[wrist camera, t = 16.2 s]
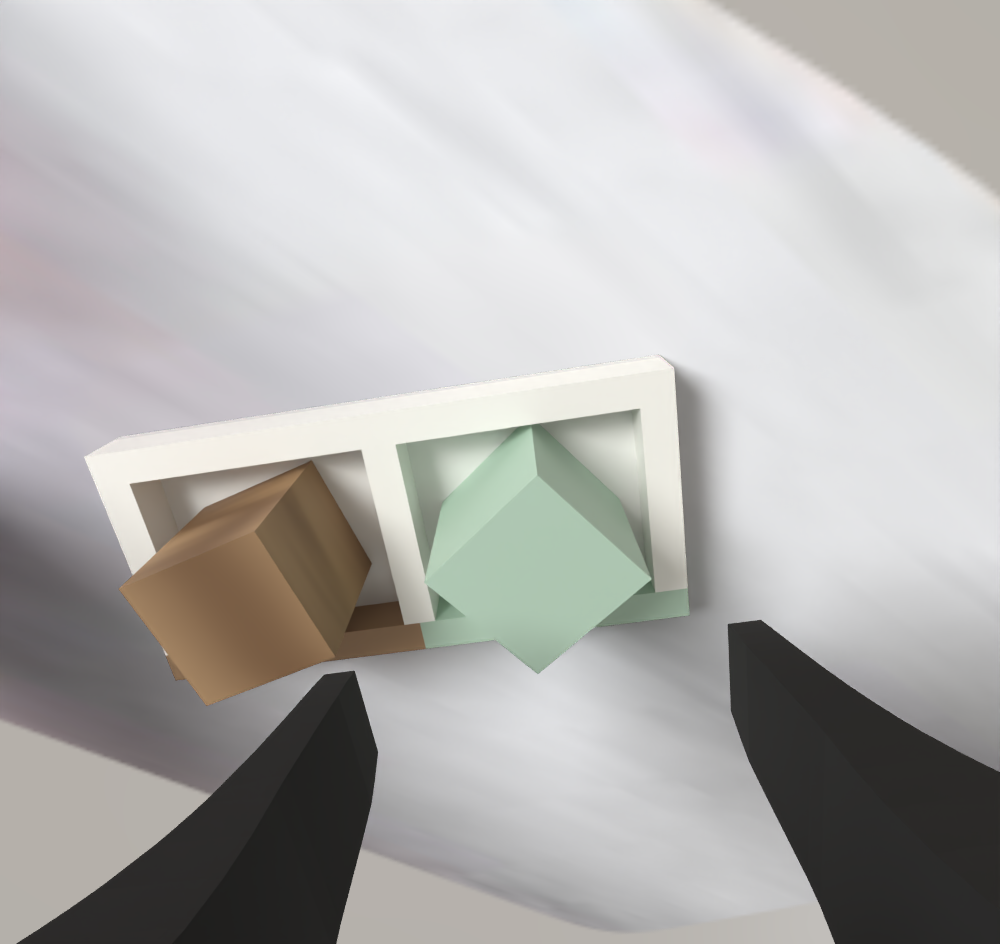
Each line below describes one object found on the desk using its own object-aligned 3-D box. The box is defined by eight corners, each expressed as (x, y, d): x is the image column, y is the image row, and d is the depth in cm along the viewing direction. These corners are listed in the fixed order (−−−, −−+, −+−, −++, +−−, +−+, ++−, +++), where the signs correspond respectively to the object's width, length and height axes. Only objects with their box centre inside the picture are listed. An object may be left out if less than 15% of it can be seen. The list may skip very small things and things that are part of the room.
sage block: (442, 501, 21) (424, 582, 16) (529, 415, 20) (536, 475, 15) (530, 577, 22) (537, 674, 17) (619, 498, 21) (651, 578, 16)
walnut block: (269, 604, 22) (206, 705, 18) (204, 507, 21) (118, 589, 16) (372, 563, 22) (335, 656, 17) (311, 460, 20) (254, 531, 16)
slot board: (200, 645, 24) (175, 680, 22) (120, 436, 21) (84, 456, 19) (674, 584, 22) (689, 615, 21) (659, 354, 20) (674, 367, 18)
